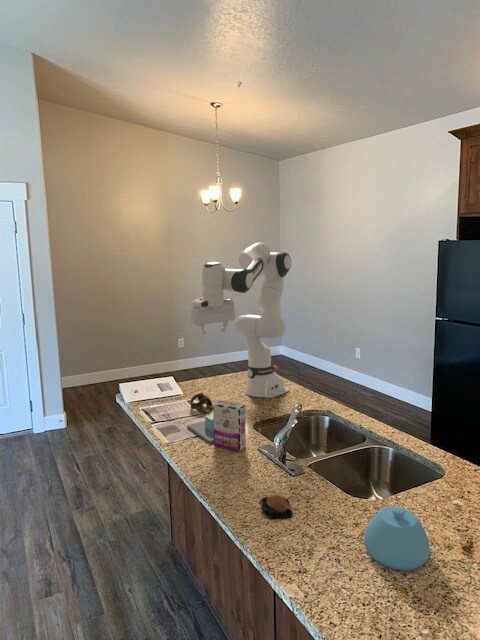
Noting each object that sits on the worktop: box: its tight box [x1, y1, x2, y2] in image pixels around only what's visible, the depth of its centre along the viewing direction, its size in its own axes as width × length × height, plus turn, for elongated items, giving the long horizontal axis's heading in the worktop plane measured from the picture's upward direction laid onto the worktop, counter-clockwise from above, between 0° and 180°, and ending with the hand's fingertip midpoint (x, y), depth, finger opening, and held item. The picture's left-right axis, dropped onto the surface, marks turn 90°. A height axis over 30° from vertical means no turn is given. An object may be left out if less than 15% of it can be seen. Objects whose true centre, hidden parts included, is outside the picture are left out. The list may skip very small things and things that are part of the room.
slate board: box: [187, 420, 214, 445], centre depth 184 cm, size 14×18×1 cm
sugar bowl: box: [363, 506, 431, 572], centre depth 112 cm, size 15×15×12 cm
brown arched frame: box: [189, 392, 214, 411], centre depth 209 cm, size 12×9×8 cm
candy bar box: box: [212, 400, 247, 453], centre depth 169 cm, size 11×5×16 cm, turn 62°
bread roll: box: [259, 494, 293, 521], centre depth 131 cm, size 11×8×4 cm
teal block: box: [204, 413, 214, 432], centre depth 183 cm, size 5×5×5 cm
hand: (213, 332), depth 198 cm, fingers open, 8 cm apart
